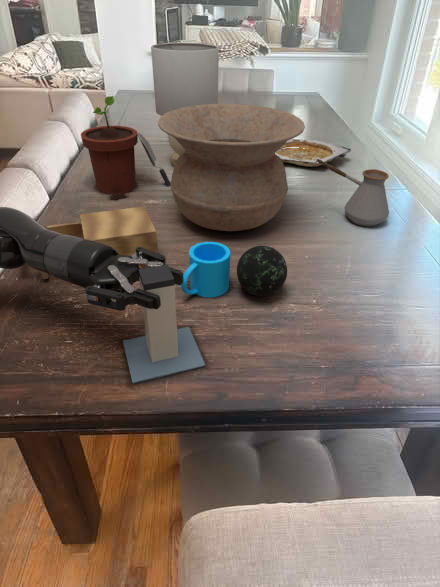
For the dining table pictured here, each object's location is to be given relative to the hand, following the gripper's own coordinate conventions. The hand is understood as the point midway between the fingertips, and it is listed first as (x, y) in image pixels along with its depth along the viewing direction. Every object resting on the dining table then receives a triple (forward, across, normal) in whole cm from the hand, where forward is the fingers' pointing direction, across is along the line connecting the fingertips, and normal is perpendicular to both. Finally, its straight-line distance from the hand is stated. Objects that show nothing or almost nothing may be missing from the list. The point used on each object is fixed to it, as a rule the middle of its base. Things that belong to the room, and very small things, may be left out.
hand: (170, 290), depth 61 cm
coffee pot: (+14, -67, -14) cm, 70 cm away
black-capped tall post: (-2, 0, -14) cm, 14 cm away
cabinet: (-27, -22, -14) cm, 38 cm away
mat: (-2, 0, -14) cm, 14 cm away
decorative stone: (+6, -24, -14) cm, 29 cm away
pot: (-14, -51, -14) cm, 55 cm away
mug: (-5, -19, -14) cm, 25 cm away
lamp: (-44, -82, -15) cm, 94 cm away
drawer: (-36, -13, -13) cm, 41 cm away
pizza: (-10, -106, -15) cm, 108 cm away
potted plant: (-50, -55, -15) cm, 76 cm away
